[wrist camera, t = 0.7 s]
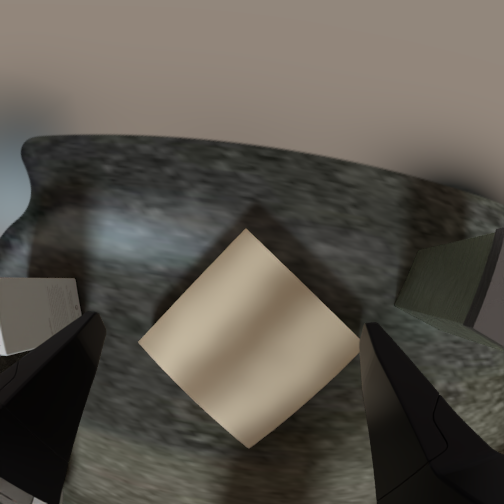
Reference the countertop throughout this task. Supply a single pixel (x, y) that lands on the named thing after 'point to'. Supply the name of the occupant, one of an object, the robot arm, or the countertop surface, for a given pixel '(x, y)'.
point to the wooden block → (250, 341)
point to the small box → (35, 311)
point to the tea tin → (460, 288)
